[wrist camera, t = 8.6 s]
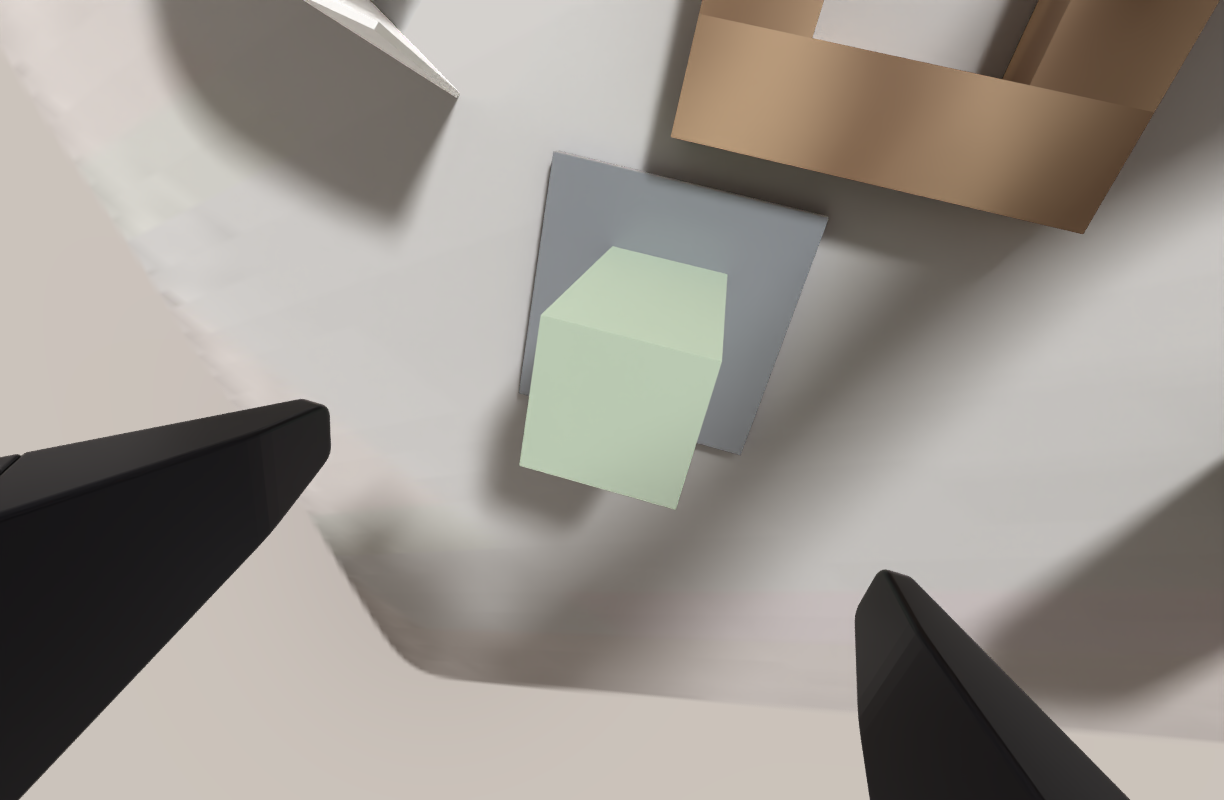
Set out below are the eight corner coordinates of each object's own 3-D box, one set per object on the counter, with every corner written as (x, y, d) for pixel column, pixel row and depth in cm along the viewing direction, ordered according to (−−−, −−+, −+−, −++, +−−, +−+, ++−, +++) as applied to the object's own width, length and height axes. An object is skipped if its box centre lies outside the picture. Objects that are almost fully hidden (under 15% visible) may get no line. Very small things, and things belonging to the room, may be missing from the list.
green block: (727, 274, 19) (721, 361, 12) (696, 379, 21) (675, 509, 14) (612, 246, 19) (540, 314, 12) (591, 352, 21) (519, 465, 14)
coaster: (826, 215, 18) (828, 218, 18) (740, 447, 22) (740, 455, 22) (558, 150, 19) (553, 151, 18) (523, 386, 23) (518, 392, 23)
